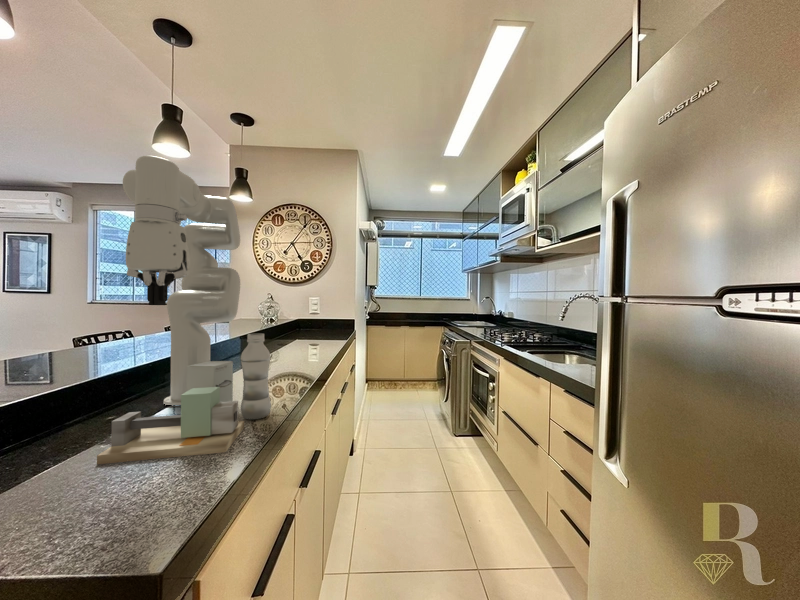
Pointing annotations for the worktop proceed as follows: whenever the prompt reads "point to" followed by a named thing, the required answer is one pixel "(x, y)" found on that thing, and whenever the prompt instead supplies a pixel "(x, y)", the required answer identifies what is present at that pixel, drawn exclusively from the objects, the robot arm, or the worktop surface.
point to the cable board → (169, 436)
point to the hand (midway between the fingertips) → (157, 304)
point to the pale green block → (198, 411)
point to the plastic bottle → (255, 378)
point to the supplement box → (212, 377)
